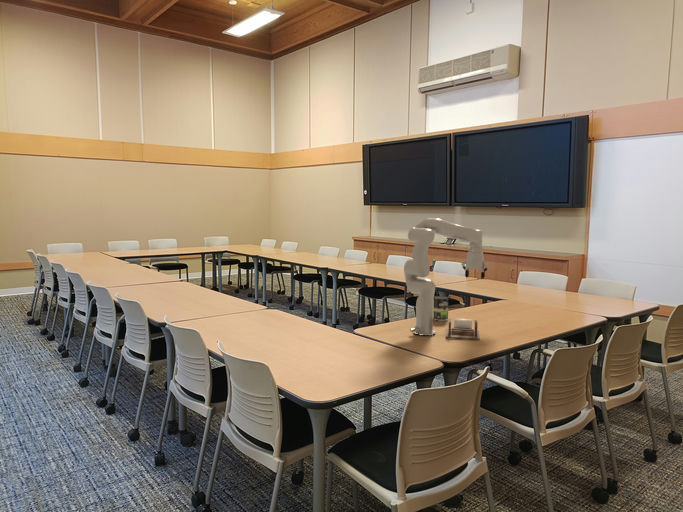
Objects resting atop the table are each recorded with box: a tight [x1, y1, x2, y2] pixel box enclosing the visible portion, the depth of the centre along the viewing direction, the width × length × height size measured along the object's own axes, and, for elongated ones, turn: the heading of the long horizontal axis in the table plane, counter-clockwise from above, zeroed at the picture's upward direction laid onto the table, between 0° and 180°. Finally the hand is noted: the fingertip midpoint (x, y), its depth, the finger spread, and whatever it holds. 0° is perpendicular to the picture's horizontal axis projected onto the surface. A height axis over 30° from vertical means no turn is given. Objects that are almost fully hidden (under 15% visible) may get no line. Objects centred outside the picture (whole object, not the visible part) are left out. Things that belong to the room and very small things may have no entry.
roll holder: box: [445, 318, 481, 341], centre depth 267 cm, size 18×16×8 cm
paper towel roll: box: [453, 318, 473, 329], centre depth 283 cm, size 10×6×6 cm, turn 76°
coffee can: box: [433, 295, 449, 322], centre depth 305 cm, size 10×10×14 cm
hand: (474, 277), depth 292 cm, fingers open, 9 cm apart
